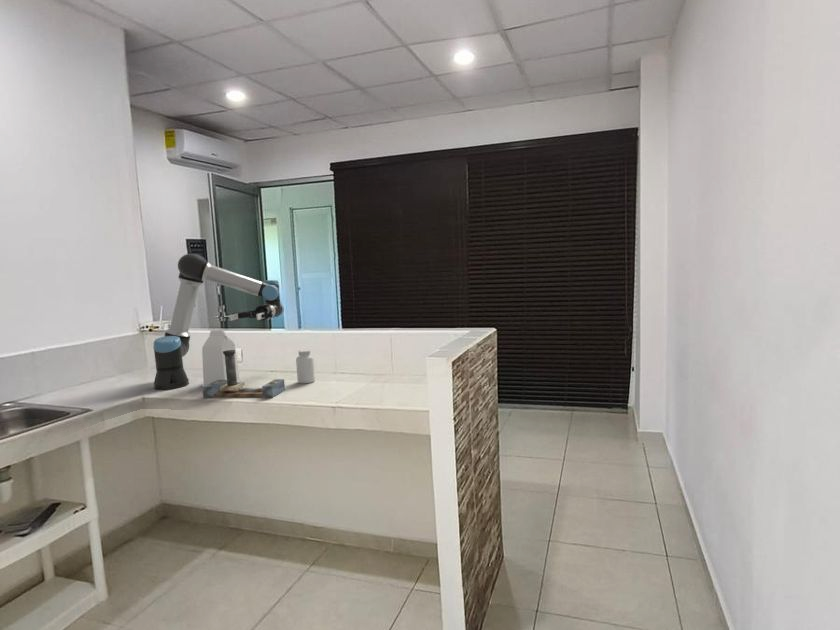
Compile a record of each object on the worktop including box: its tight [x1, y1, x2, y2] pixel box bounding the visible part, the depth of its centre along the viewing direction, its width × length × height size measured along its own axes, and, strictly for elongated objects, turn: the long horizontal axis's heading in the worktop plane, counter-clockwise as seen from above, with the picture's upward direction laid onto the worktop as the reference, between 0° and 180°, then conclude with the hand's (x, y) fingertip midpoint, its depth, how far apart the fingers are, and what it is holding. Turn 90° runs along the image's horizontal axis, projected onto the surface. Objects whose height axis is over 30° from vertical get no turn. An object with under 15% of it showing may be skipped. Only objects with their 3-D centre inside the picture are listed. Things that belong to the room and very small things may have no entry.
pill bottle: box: [295, 349, 316, 384], centre depth 238 cm, size 8×8×15 cm
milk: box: [201, 329, 241, 386], centre depth 242 cm, size 12×12×26 cm
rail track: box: [202, 378, 286, 399], centre depth 221 cm, size 32×12×6 cm, turn 81°
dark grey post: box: [220, 349, 245, 391], centre depth 221 cm, size 7×8×17 cm
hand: (243, 317), depth 234 cm, fingers open, 13 cm apart
